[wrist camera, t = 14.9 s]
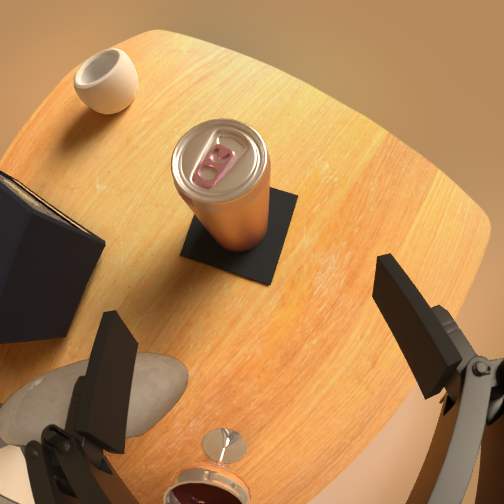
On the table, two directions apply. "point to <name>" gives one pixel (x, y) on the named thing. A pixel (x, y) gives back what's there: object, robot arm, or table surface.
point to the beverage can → (225, 181)
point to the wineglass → (212, 474)
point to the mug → (107, 81)
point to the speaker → (40, 265)
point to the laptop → (14, 475)
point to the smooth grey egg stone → (61, 387)
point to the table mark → (251, 261)
